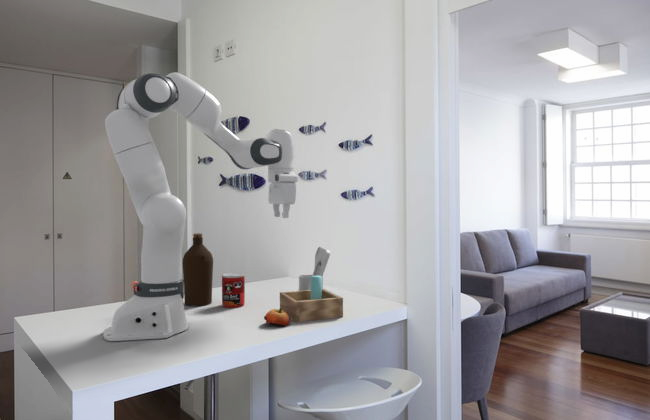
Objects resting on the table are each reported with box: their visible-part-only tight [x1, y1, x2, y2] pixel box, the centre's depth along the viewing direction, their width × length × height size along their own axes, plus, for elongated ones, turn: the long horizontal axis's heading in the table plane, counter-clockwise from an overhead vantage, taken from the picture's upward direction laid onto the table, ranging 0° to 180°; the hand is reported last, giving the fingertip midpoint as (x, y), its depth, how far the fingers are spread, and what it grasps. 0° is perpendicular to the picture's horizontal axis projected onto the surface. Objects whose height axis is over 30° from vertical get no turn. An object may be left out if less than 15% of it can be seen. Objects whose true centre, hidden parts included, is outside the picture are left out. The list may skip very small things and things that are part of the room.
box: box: [279, 288, 344, 323], centre depth 153 cm, size 16×16×6 cm
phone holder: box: [297, 246, 331, 291], centre depth 183 cm, size 17×10×18 cm, turn 13°
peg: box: [311, 276, 322, 300], centre depth 154 cm, size 4×4×12 cm
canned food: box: [221, 272, 246, 309], centre depth 164 cm, size 8×8×11 cm
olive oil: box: [182, 232, 214, 307], centre depth 167 cm, size 11×11×25 cm
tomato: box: [263, 307, 291, 327], centre depth 140 cm, size 8×7×7 cm
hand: (281, 217), depth 162 cm, fingers open, 8 cm apart
